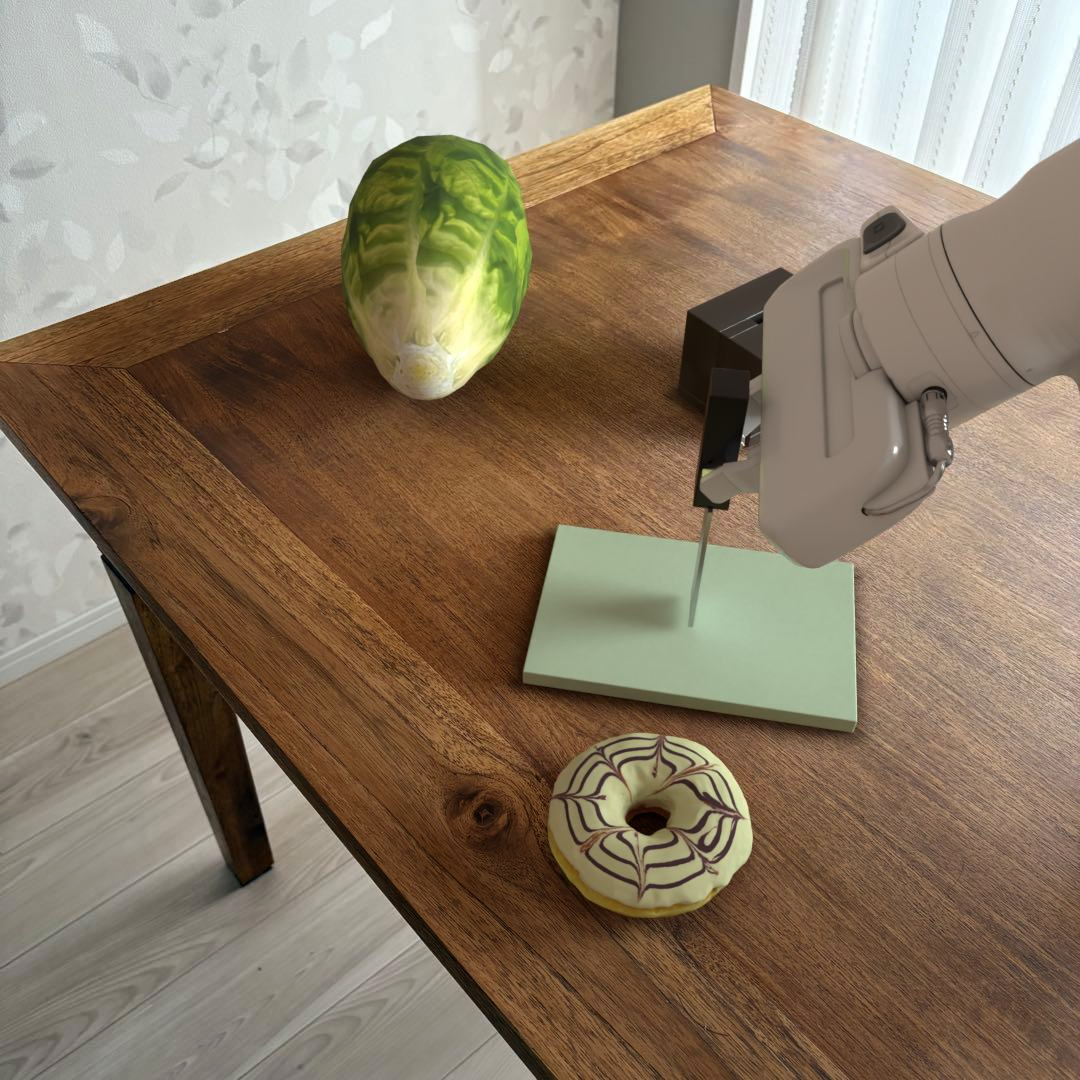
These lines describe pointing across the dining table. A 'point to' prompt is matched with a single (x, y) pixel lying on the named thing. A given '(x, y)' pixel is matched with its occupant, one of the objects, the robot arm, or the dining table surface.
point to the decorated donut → (669, 854)
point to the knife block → (726, 338)
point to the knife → (718, 450)
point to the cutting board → (697, 628)
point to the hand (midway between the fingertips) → (708, 464)
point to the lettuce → (435, 262)
